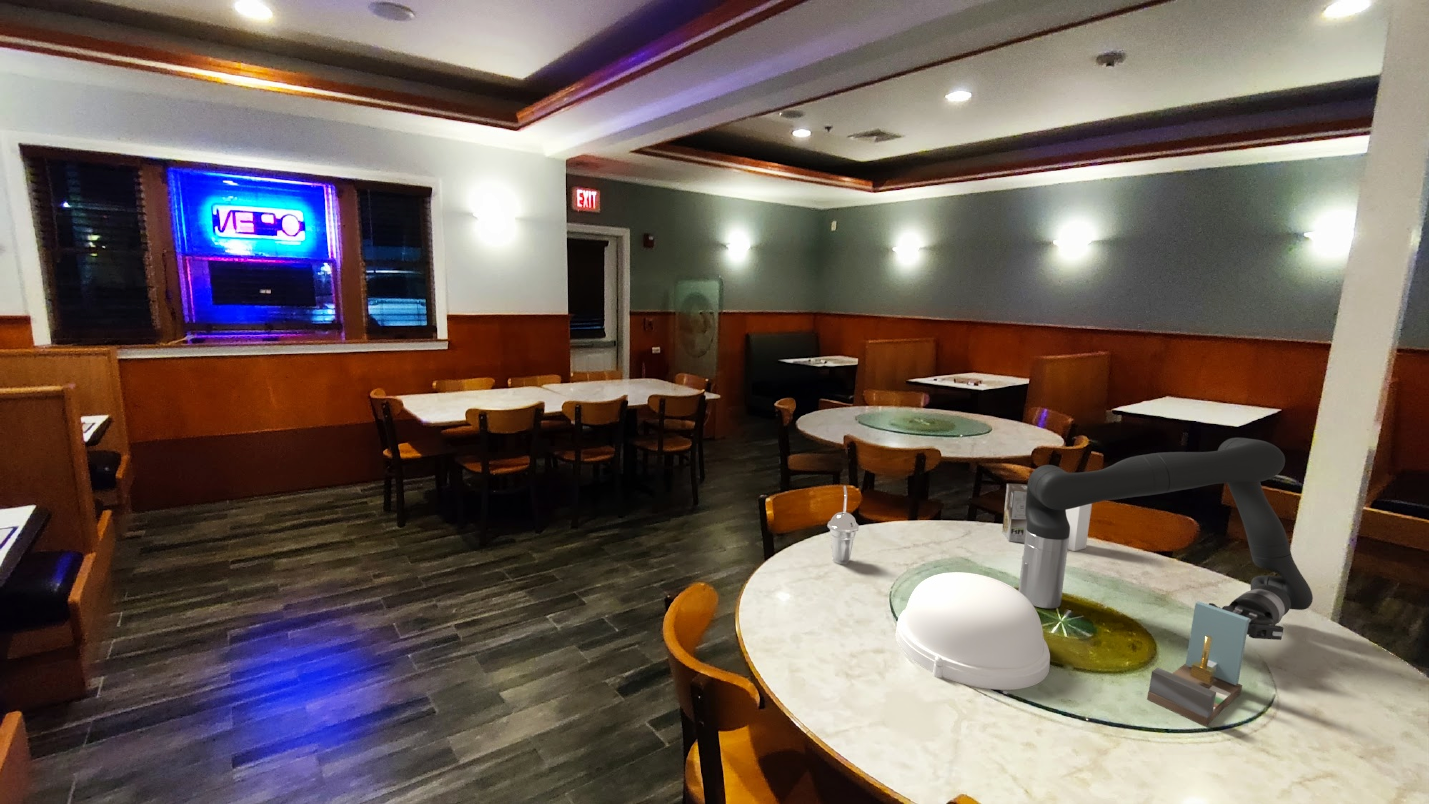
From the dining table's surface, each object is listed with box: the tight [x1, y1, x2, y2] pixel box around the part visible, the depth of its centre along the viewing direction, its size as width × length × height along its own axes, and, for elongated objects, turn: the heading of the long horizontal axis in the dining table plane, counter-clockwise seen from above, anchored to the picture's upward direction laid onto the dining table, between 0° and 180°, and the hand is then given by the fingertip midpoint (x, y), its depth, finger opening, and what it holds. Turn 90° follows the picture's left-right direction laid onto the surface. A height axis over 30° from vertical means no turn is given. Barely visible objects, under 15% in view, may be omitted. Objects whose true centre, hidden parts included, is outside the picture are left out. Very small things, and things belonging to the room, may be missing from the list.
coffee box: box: [1001, 483, 1028, 544], centre depth 198 cm, size 9×6×16 cm
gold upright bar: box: [1190, 635, 1215, 684], centre depth 120 cm, size 2×3×8 cm, turn 35°
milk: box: [1066, 503, 1093, 552], centre depth 191 cm, size 6×6×22 cm
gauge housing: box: [1146, 662, 1243, 727], centre depth 119 cm, size 18×9×6 cm, turn 125°
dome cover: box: [895, 571, 1051, 691], centre depth 133 cm, size 32×30×14 cm
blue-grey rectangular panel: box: [1185, 601, 1250, 685], centre depth 122 cm, size 4×8×13 cm, turn 35°
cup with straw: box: [826, 485, 860, 565], centre depth 175 cm, size 8×9×20 cm
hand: (1229, 632), depth 127 cm, fingers closed
